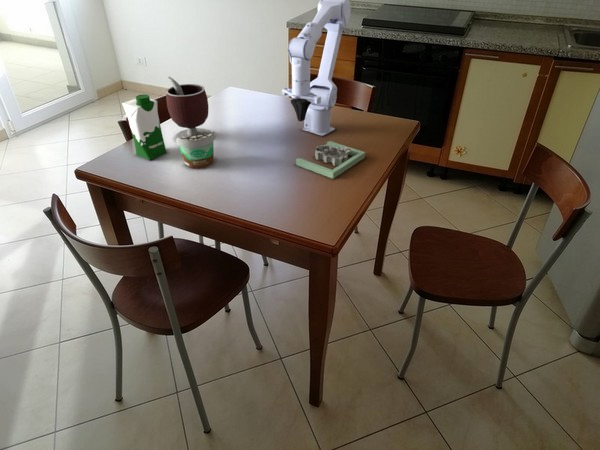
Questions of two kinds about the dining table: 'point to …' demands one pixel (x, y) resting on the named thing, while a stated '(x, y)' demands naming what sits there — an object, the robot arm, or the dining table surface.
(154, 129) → the milk carton
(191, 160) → the food container
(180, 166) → the dining table surface
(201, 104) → the mate gourd
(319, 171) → the frame
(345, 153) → the egg carton
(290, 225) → the dining table surface
